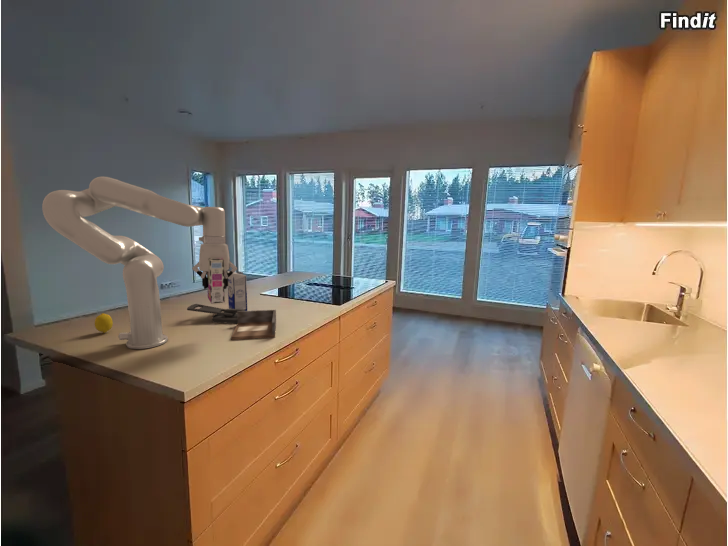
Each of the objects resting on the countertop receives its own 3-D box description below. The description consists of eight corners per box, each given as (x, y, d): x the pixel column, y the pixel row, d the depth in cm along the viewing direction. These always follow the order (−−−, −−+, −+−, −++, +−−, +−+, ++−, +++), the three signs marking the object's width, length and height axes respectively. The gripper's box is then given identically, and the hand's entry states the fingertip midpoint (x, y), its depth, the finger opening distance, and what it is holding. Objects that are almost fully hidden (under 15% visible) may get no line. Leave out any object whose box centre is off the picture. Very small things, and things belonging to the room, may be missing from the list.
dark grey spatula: (194, 303, 150) (249, 304, 150) (195, 316, 151) (249, 318, 151) (184, 308, 141) (242, 309, 141) (185, 322, 142) (242, 324, 142)
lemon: (117, 331, 129) (115, 312, 128) (102, 336, 124) (100, 316, 123) (106, 329, 131) (104, 310, 129) (92, 334, 125) (89, 314, 124)
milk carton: (228, 310, 162) (226, 270, 159) (241, 308, 167) (240, 269, 164) (233, 313, 157) (232, 272, 154) (247, 311, 162) (246, 271, 158)
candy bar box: (225, 302, 120) (224, 258, 118) (210, 304, 118) (208, 259, 115) (221, 296, 130) (219, 255, 127) (207, 297, 127) (205, 255, 124)
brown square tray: (231, 340, 123) (230, 324, 122) (238, 325, 141) (237, 311, 140) (275, 337, 127) (274, 322, 126) (276, 323, 144) (275, 309, 143)
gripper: (185, 240, 114) (187, 290, 117) (237, 242, 118) (238, 290, 121) (191, 239, 121) (193, 286, 124) (240, 240, 126) (241, 286, 128)
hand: (215, 287), depth 123 cm, fingers closed on candy bar box, 6 cm apart
